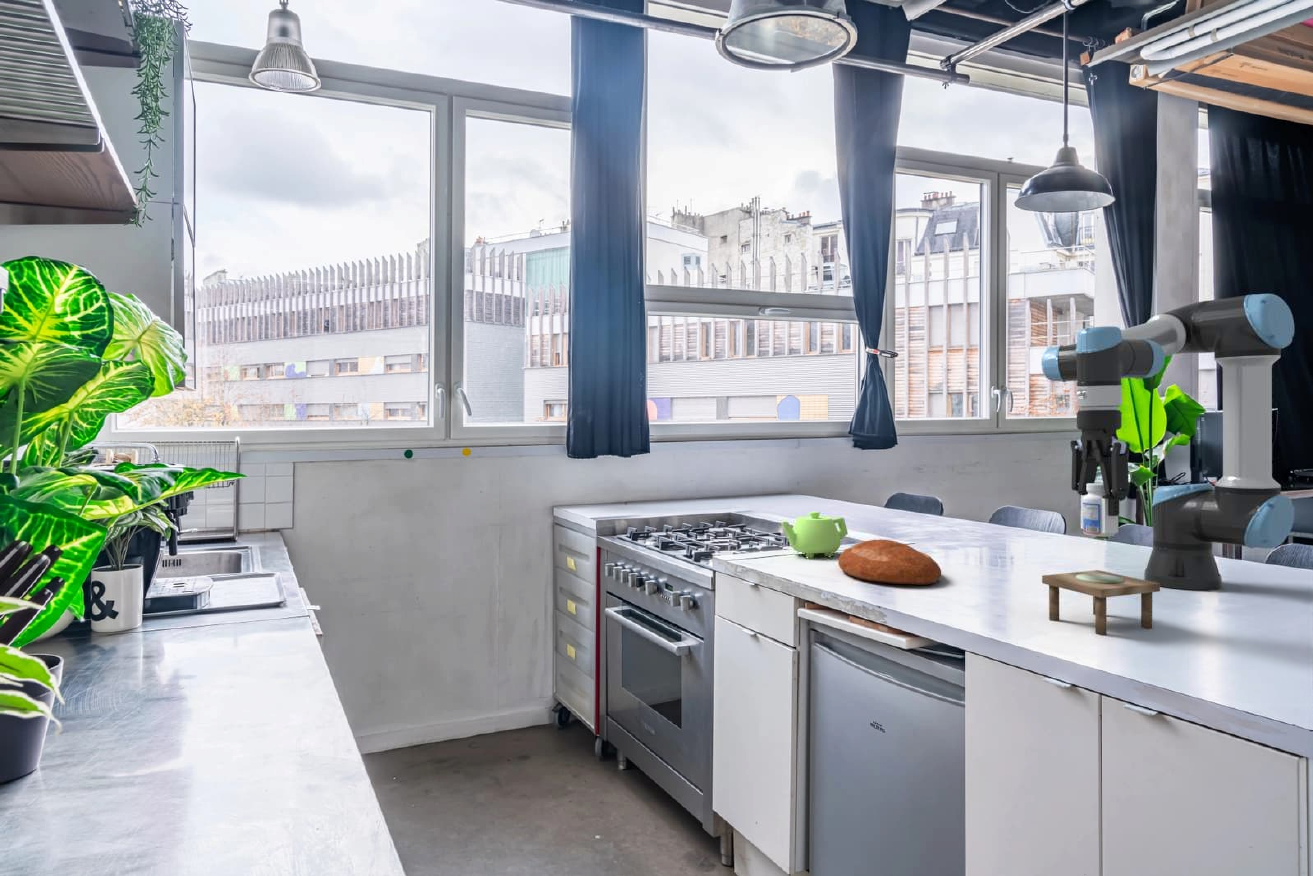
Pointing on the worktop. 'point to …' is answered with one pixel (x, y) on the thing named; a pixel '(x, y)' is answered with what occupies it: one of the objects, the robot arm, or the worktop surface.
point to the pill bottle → (1093, 510)
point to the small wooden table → (1101, 593)
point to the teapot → (816, 534)
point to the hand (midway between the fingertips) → (1099, 530)
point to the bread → (889, 563)
